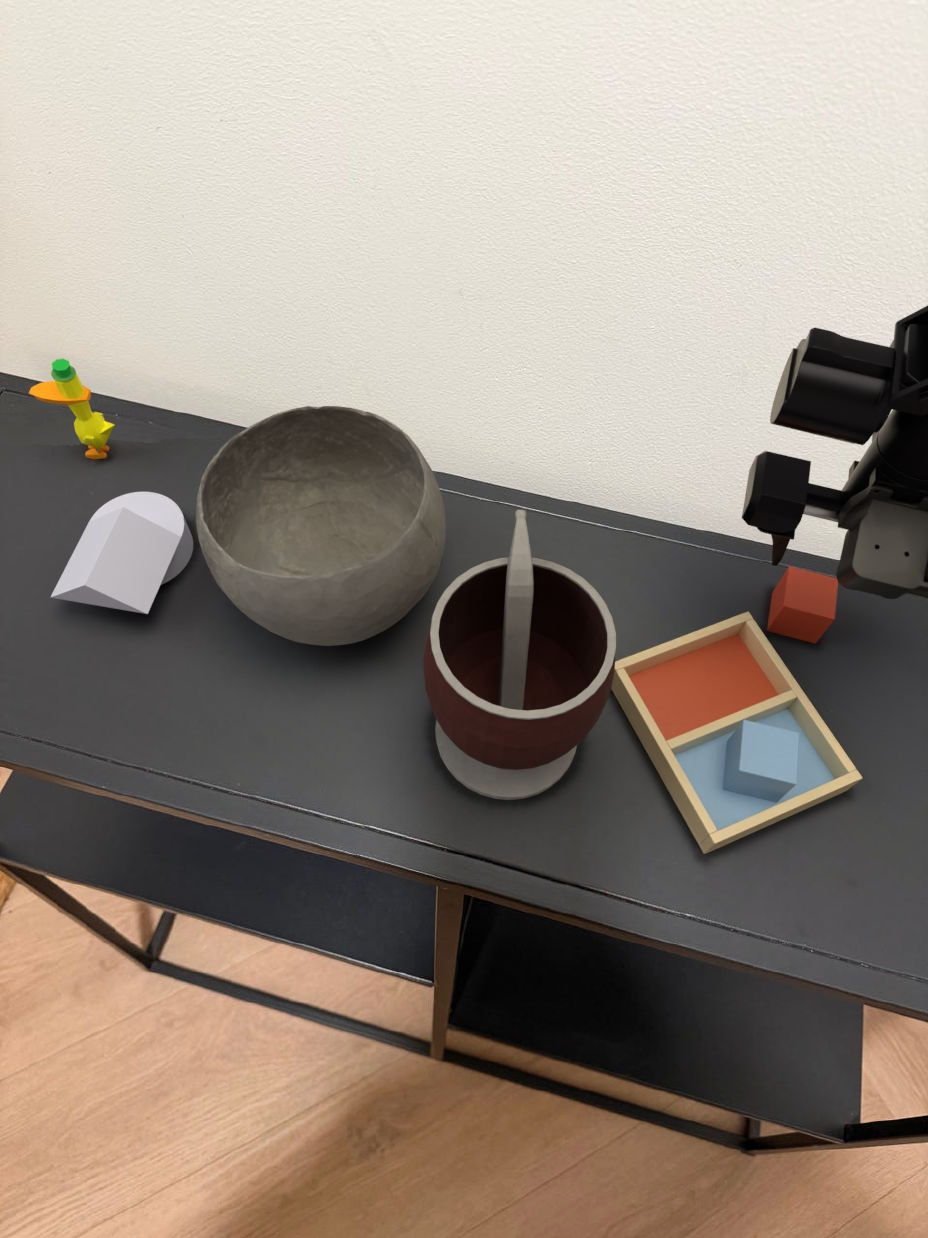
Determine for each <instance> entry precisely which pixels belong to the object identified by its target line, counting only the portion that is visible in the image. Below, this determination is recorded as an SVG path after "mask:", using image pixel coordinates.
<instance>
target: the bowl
mask: <svg viewBox="0 0 928 1238" xmlns="http://www.w3.org/2000/svg"><path fill="white" fill-rule="evenodd" d="M444 504H445V503H444V500H443V495H442V492H441V490H440V487H439V484H438V482H437V479H436V476H435V475H434V471H433V469H432V467H431V466H430V464H429V462H428V461H427V459H426V458H425V457H424V454H423V453H422V451H421V450H420V449H419V447H418V446H417V444H416V443H415V442H414V441H413V439H412V438H411V437H410V435H408V434H407V433H406V432H405V431H403V430H402V429H401V428H400V427H399V426H397V425H396V424H394V422H391V420H388V419H387V418H384V417H383V416H381V415H379V414H376V413H373V412H370V411H365V410H362V409H359V408H353V407H347V406H339V405H321V406H313V405H312V406H311V405H307V406H301V407H296V408H291V409H287V410H284V411H281V412H278V413H275V414H272V415H270V416H268V417H266V418H264V419H261V420H260V421H257V422H256V423H254V424H252V425H250V426H248V427H246V428H245V429H243V430H242V431H240V432H238V433H236V434H234V435H233V436H232V437H231V438H230V439H228V440H227V441H226V442H225V443H223V445H222V446H221V447H220V448H219V449H218V451H217V453H216V454H214V455H213V457H212V459H211V460H210V462H209V463H208V464H207V465H206V467H205V470H204V472H203V473H202V477H201V479H200V483H199V487H198V491H197V496H196V507H195V524H196V532H197V538H198V542H199V544H200V548H201V552H202V554H203V557H204V560H205V563H206V565H207V567H208V569H209V571H210V573H211V575H212V577H213V579H214V581H215V582H216V584H217V586H218V587H219V588H220V590H221V591H222V592H223V593H224V594H225V596H227V598H228V599H229V600H230V601H231V603H232V604H233V605H234V606H235V607H236V608H237V609H239V611H240V612H241V613H242V614H244V615H245V616H246V617H247V618H248V619H250V620H251V621H252V622H254V623H256V625H259V626H260V627H263V629H265V630H267V631H268V632H271V633H272V634H275V635H277V636H280V637H282V638H284V639H286V640H290V641H292V642H295V643H300V644H306V645H312V646H325V647H333V646H342V645H350V644H355V643H359V642H362V641H365V640H367V639H370V638H372V637H374V636H376V635H378V634H380V633H382V632H384V631H386V630H387V629H390V628H391V627H392V626H393V625H395V624H396V623H398V622H399V621H400V620H401V619H403V618H405V616H407V614H408V613H409V612H410V611H411V610H413V608H414V607H415V606H416V605H417V604H418V603H419V602H420V600H422V598H424V596H425V595H426V593H427V592H428V591H429V589H430V587H431V586H432V584H433V583H434V582H435V579H436V578H437V575H438V572H439V569H440V567H441V563H442V559H443V554H444V552H445V546H446V536H447V521H446V511H445V510H446V509H445V505H444Z"/></svg>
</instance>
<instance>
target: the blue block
mask: <svg viewBox="0 0 928 1238" xmlns="http://www.w3.org/2000/svg"><path fill="white" fill-rule="evenodd" d="M798 751H799V732H794V731H790V730H786V729H782V728H777V727H773V726H769V725H764V724H760V723H756V722H752V721H747V720H743V721H742V722H741V724H740V725H739V726H738V728H737V729H736V730H735V732H734V733H733V734H732V735H731V737H730V738H729V739H728V741H727V749H726V759H725V770H724V780H723V790H727V791H731V792H736V793H740V794H744V795H748V796H752V797H756V798H760V799H764V800H768V801H773V802H778V801H779V800H780V799H781V798H782V797H784V796H785V795H786V794H787V793H788V792H789V791H790V790H791V789H792V788H793V787H794V786H795V785H796V784H797V771H798Z"/></svg>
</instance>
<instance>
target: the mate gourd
mask: <svg viewBox="0 0 928 1238" xmlns="http://www.w3.org/2000/svg"><path fill="white" fill-rule="evenodd" d="M514 519H515V523H514V524H515V525H514V529H513V534H512V539H511V545H510V550H509V556H508V557H500V558H496V559H495V558H494V559H492V560H488V561H485V562H482V563H479V564H478V565H476V566H473V567H471V568H469V569H468V570H466V571H464V572H463V573H462V574H460V575H458V576H457V577H456V578H455V579H454V580H453V581H452V582H451V583H450V585H449V586H448V587H447V588H445V590H444V591H443V593H442V594H441V596H440V598H439V599H438V601H437V602H436V606H435V608H434V611H433V614H432V616H431V620H430V621H431V622H430V624H429V628H428V631H427V634H426V638H425V642H424V650H423V657H422V660H423V664H422V665H423V680H424V688H425V693H426V697H427V699H428V702H429V706H430V708H431V711H432V713H433V716H434V717H435V731H434V732H435V740H436V741H435V742H436V746H437V749H438V752H439V756H440V758H441V761H443V763H444V766H445V767H446V769H447V770H448V771H449V773H451V775H452V776H453V777H454V778H455V779H456V780H457V781H458V782H460V784H462V785H463V786H464V787H466V788H467V789H469V790H470V791H472V792H475V793H476V794H479V795H481V796H484V797H487V798H491V799H495V800H504V801H505V800H506V801H515V800H524V799H527V798H530V797H533V796H538V795H539V794H541V793H543V792H545V791H547V790H549V789H550V788H551V787H553V785H555V784H556V783H558V781H560V780H561V779H562V777H563V776H564V775H565V774H566V773H567V771H568V770H569V768H570V766H571V764H572V762H573V760H574V758H575V754H576V751H577V746H578V745H579V744H580V743H581V742H582V741H583V739H584V738H585V737H587V735H588V734H589V733H590V731H591V730H592V729H593V727H594V726H595V725H596V723H597V722H598V721H599V719H600V717H601V715H602V712H603V711H604V708H605V706H606V704H607V702H608V699H609V696H610V694H611V691H612V689H611V687H612V682H613V678H614V670H615V662H616V650H617V633H616V628H615V624H614V619H613V616H612V614H611V612H610V611H609V607H608V605H607V603H606V602H605V601H604V599H603V597H602V596H601V595H600V594H599V592H598V591H597V589H595V588H594V587H593V586H592V585H591V584H590V583H589V582H588V580H586V579H585V578H584V577H582V576H581V575H579V574H577V573H576V572H575V571H573V570H572V569H569V568H567V567H565V566H563V565H561V564H559V563H556V562H553V561H550V560H545V559H542V558H538V557H533V556H532V550H531V544H530V543H531V542H530V538H529V537H530V536H529V529H528V525H527V510H526V509H517V510H515V511H514Z"/></svg>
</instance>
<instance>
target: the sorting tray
mask: <svg viewBox="0 0 928 1238" xmlns="http://www.w3.org/2000/svg"><path fill="white" fill-rule="evenodd" d="M611 691H612V693H613V694H614V696H615V698H616V700H617V702H618V704H619V705H620V707H621V709H622V711H623V712H624V715H625V716H626V718H627V720H628V722H629V723H630V725H631V726H632V729H633V731H634V733H635V734H636V736H637V737H638V739H639V741H640V743H641V744H642V745H641V746H643V748H644V750H645V751H646V754H647V755H648V757H649V759H650V761H651V763H652V764H653V766H654V768H655V769H656V772H657V773H658V775H659V777H660V779H661V781H662V782H663V784H664V786H665V787H666V790H667V791H668V792H669V795H670V796H671V798H672V800H673V802H674V804H675V805H676V807H677V809H678V811H679V812H680V814H681V816H682V818H683V820H684V821H685V823H686V825H687V827H688V829H689V830H690V832H691V834H692V835H693V838H694V839H695V841H696V843H697V844H698V846H699V849H700V850H701V852H702V854H703V855H706V854H708V853H711V852H713V851H715V850H718V849H719V848H722V847H724V846H727V845H729V844H731V843H733V842H736V841H737V840H739V839H742V838H745V837H747V836H748V835H751V834H753V833H756V832H757V831H760V830H762V829H764V828H766V827H769V826H771V825H774V824H776V823H778V822H781V821H782V820H785V819H787V818H789V817H791V816H793V815H796V814H798V813H800V812H802V811H805V810H808V809H810V808H811V807H814V806H816V805H818V804H821V803H823V802H825V801H827V800H830V799H832V798H834V797H836V796H838V795H841V794H843V793H845V792H847V791H848V790H850V789H851V788H852V787H854V786H855V785H856V784H858V783H859V782H860V781H861V780H862V779H863V776H862V775H861V773H860V772H859V770H858V769H857V768H856V766H855V765H854V762H852V760H851V758H850V757H849V756H848V754H847V753H846V751H845V750H844V749H843V747H842V746H841V744H840V743H839V741H838V740H837V738H836V737H835V735H834V734H833V732H832V731H831V730H830V728H829V727H828V725H827V724H826V722H825V721H824V720H823V718H822V716H821V715H820V714H819V712H818V711H817V709H816V708H815V707H814V705H813V704H812V702H811V700H810V699H809V697H808V696H807V695H806V693H805V691H804V690H803V689H802V688H801V686H800V684H799V683H798V682H797V680H796V678H795V677H794V675H793V673H791V672H790V669H789V668H788V666H787V665H786V664H785V663H784V661H783V660H782V658H781V657H780V655H779V654H778V652H777V651H776V650H775V648H774V647H773V645H772V644H771V642H770V640H769V639H768V638H767V637H766V635H765V633H764V632H763V631H762V629H761V627H759V625H758V623H757V622H756V620H755V619H754V617H753V616H752V614H751V613H750V612H749V611H745V612H742V613H740V614H738V615H735V616H732V617H730V618H727V619H725V620H722V621H718V622H715V623H714V624H711V625H709V626H706V627H703V628H700V629H698V630H695V631H692V632H690V633H688V634H684V635H681V636H680V637H677V638H674V639H671V640H669V641H666V642H664V643H660V644H658V645H655V646H653V647H650V648H648V649H645V650H643V651H639V652H637V653H635V654H632V655H628V656H626V657H624V658H621V659H619V660H618V659H617V660H615V670H614V678H613V682H612V687H611ZM743 720H747V721H752V722H756V723H760V724H764V725H769V726H773V727H777V728H782V729H786V730H790V731H794V732H799V751H798V771H797V784H796V785H795V786H794V787H793V788H792V789H791V790H790V791H789V792H788V793H787V794H786V795H785V796H784V797H782V798H781V799H780V800H779V801H778V802H773V801H768V800H764V799H760V798H756V797H752V796H748V795H744V794H740V793H736V792H731V791H727V790H723V780H724V770H725V759H726V749H727V741H728V739H729V738H730V737H731V735H732V734H733V733H734V732H735V730H736V729H737V728H738V726H739V725H740V724H741V722H742V721H743Z"/></svg>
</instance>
